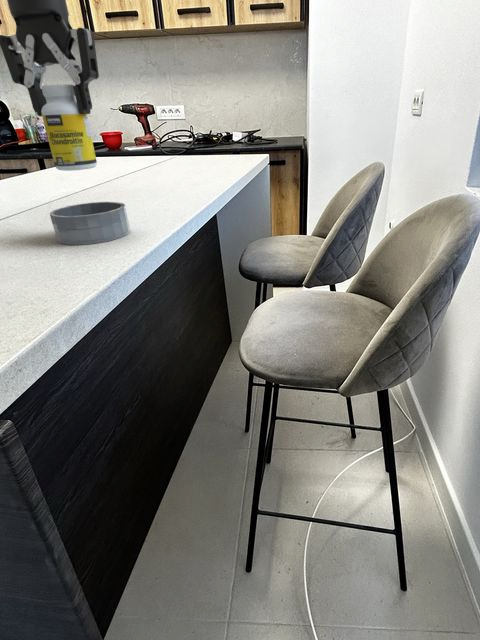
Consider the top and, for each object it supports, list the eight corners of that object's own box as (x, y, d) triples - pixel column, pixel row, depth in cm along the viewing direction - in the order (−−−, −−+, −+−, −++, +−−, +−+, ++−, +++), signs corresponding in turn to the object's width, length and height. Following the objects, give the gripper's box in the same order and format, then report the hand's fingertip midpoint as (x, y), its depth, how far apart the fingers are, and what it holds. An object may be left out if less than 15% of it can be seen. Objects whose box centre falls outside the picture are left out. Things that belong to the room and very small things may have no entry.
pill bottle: (47, 171, 68) (24, 85, 62) (70, 166, 73) (50, 87, 68) (85, 170, 67) (65, 83, 61) (105, 165, 72) (88, 84, 67)
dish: (42, 244, 71) (33, 217, 69) (81, 226, 82) (75, 202, 79) (109, 245, 69) (102, 216, 67) (141, 226, 79) (136, 201, 77)
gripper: (-36, -26, 56) (7, 118, 64) (62, -39, 54) (94, 113, 62) (3, -13, 63) (38, 117, 71) (93, -24, 60) (118, 112, 68)
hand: (64, 114), depth 66 cm, fingers closed on pill bottle, 6 cm apart
